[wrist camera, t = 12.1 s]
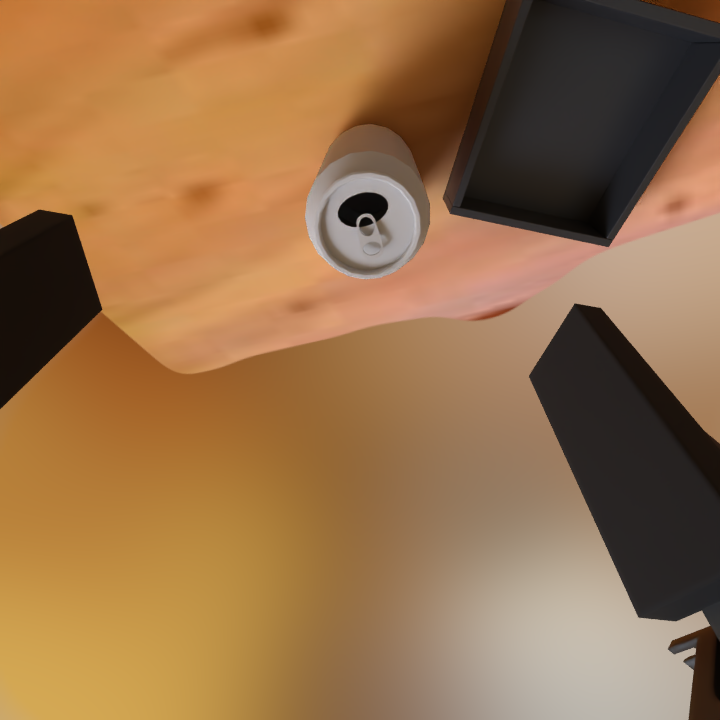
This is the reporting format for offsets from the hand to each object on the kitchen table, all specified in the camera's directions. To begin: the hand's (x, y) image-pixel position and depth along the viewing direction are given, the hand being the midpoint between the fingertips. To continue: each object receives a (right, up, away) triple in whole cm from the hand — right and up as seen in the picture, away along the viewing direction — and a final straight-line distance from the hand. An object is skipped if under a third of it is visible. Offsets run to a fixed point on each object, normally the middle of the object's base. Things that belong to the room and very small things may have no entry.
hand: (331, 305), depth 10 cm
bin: (+15, +16, +18) cm, 28 cm away
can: (+1, +13, +20) cm, 24 cm away
